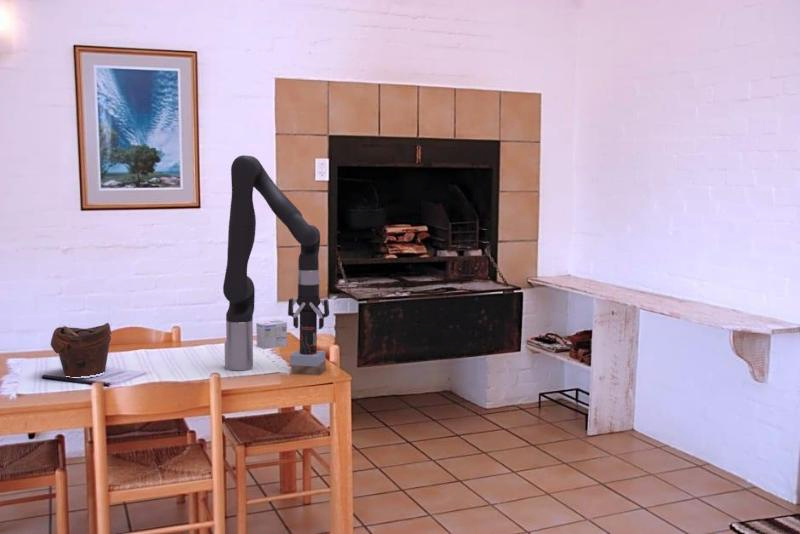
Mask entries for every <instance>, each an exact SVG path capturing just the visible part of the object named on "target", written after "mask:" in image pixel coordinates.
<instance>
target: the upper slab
mask: <svg viewBox="0 0 800 534" xmlns="http://www.w3.org/2000/svg"><path fill="white" fill-rule="evenodd" d="M325 360H326V350H317V353H316V354H312V355H304V354H300V349H297V350H296V351H294V352H293V353H291V354H289V365H290V366H292V365H296V366H316V367H318V366H319V365H320V364H322V363H323V362H324V361H325Z"/></svg>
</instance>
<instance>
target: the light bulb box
mask: <svg viewBox="0 0 800 534" xmlns="http://www.w3.org/2000/svg"><path fill="white" fill-rule="evenodd" d="M287 324H288V322H287V321H284V320H280V319H277V320H271V321H270V320H269V321H263V322H261V321H260V322H256V347H258V348H261V349H264V350H267V349H273V348H281V347H287V346H288V325H287Z"/></svg>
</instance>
